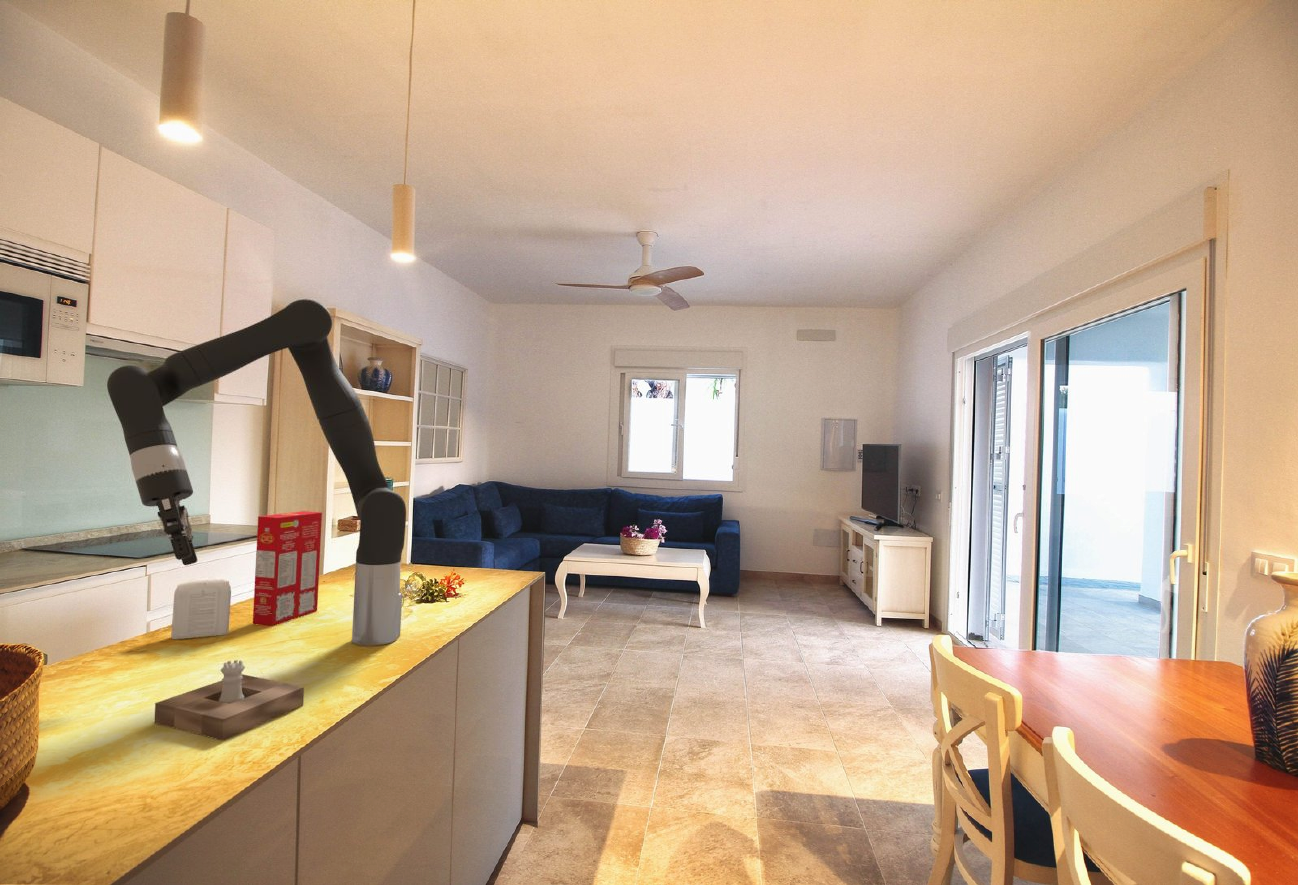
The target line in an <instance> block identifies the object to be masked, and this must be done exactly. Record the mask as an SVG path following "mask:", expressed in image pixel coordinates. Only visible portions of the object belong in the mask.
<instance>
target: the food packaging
mask: <svg viewBox="0 0 1298 885" xmlns="http://www.w3.org/2000/svg"><path fill="white" fill-rule="evenodd" d="M322 521H323V512H322V511H308V510H307V511H305V510H302V511H294V512H293V511H292V512H285V513H275V514H268V515H267V514H266V515H259V516H257V530H256V531H257V534H256V554H255V569H254V571H255V572H254V589H253V590H254V591H253V592H254V594H253V607H252V608H253V610H252V611H253V614H252V625H256V624H258V625H257V626H266V627H274V626H278V625H281V624H283V623H287V622H290V621H292V620H291V619H293V620H296V619H298V617H299V618H301V616H302V617H305V616H308V615H310V614H313V613H317V612H318V605H319V604H318V603H319V602H318V600H319V582H320V580H319V579H320V564H321V562H320V561H321V560H320V559H321V541H322V526H323V525H322ZM316 611H317V612H316ZM304 615H305V616H304ZM289 620H290V621H289ZM277 624H278V625H277Z"/></svg>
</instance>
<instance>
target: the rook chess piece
mask: <svg viewBox="0 0 1298 885" xmlns="http://www.w3.org/2000/svg"><path fill="white" fill-rule="evenodd" d="M238 660H239V659H237V660H236V659H235V660H233V663H232V661H231V660H229V661H227V662H224V663H223V666H222V668H221V669H220V672H221V674H222V675H223V678H221V681H223V689H222V693H221V697H220V698H219V702H223V703H227V704H231V703H233V702H236V701H239V700H241V699H244V695H243V694H242V687H241V679H242V678H243V676H242V675H241V674H243V673H242V672H244V670H245V669H246V666H245V665H244V664H243V662H244V661H242V660H239V661H238Z"/></svg>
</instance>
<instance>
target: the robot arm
mask: <svg viewBox="0 0 1298 885" xmlns="http://www.w3.org/2000/svg"><path fill="white" fill-rule="evenodd" d="M332 327H333V319H332V314H331V312H330V311H329V309H328V308H327V307H326V306H325V305H324V304H322V303H320V302H319V301H317V300H313V299H309V298H306V299H304V298H303V299H298V300H293V301H292V302H290V303H289V304H288V305H286V306H285V307H284V308H282V309H281V310H279V311H277V312H275V313H274V314H273V315H272V314H271V315H270V316H268V317H267V318H264V319H263V320H260V321H258V322H256V323H254V324H251V325H249V326H246V327H244V328H242V329H239V330H236V331H233V332H231V333H228V334H225V335H222V336H219V337H216V338H213V339H210V340H208V341H205V342H202V343H199V344H197V345H194V346H191V347H189V348H185V349H183V350H181V351H178V352H175V353H173V354H171V355H169V356H167V357H166V358H165V360H164V362H163V364H162V365H161V366H159V367H157V368H155V369H153V370H151V371H148V370H147V369H145V368H144V367H141V366H138V365H130V364H129V365H128V364H127V365H124V366H120V367H118V368H116V369H114V370H113V371H112V372H111V373H110V374H109V376H108V378H107V383H106V387H107V388H106V389H107V392H108V396H109V398H110V401H111V403H112V406H113V409H114V411H115V413H116V416H117V417H118V421H119V422H120V425H121V428H122V432H123V438H124V441H125V445H126V448H127V451H128V454H129V457H130V458H129V459H130V465H131V471H132V474H133V478H134V480H135V484H136V488H137V491H138V495H139V497H140V501H141V504H142V505H143V506H145V507H152V508H153V507H157V509H158V511H157V517H158V519H159V521H160V523H161V524H160V525H161V527H162V530H163V531H164V533H165V534H166V537H167V538H168V539H169V540H170V544H171V546H172V549H173V553H174V556H175V559H177V560H178V561H180V560H181V562H182V564H183V565H184V566H189V565H193V564H196V563H197V562H198V557H197V554H196V550H195V547H194V544H193V542H194V535H192V525H191V522H190V520H189V511H188V509H187V507H186V506H185V505H181V504H180V502H181V501H182V500H186V499H188V498H190V497H191V496H192V495H193V494H194V489H193V486H192V482H191V479H190V476H189V473H188V470H187V468H186V464H185V460H184V458H183V455H182V453H181V451H180V449H179V447H178V443H177V440H176V438H175V434H174V432H173V429H172V426H171V424H170V422H169V420H168V419H167V416H166V414H165V410H164V407H165V406H166V405H168V404H170V403H171V402H174V401H175V400H176V399H178V398H179V397H182V396H183V395H184V394H186V393H187V392H189V391H190V390H193V389H196V388H198V387H201V386H204V385H205V384H208V383H211V382H213V381H216V380H218V379H221V378H223V377H225V376H228V375H229V374H232V373H234V372H236V371H238V370H240V369H242V368H244V367H246V366H247V365H250V364H251V363H253V362H255V361H257V360H260V359H262V358H264V357H266V356H269V355H271V354H273V353H276V352H278V351H282V350H286V349H288V351H289V352H290V355H291V356H292V357H293V360H294V361H295V364H296V366H297V368H298V370H299V372H300V373H301V376H302V378H303V381H304V385H305V388H306V391H307V393H308V396H309V399H310V402H311V405H312V407H313V410H314V411H313V412H315V413H314V414H315V417H316V418H317V420H318V423H319V426H320V428H321V430H322V433H323V435H324V437H325V439H326V441H327V444H328V446H329V448H330V449H331V451H332V454H333V455H334V457H335V459H336V461H337V463H338V464H339V466H340V468H341V470H342V471H343V474H344V476H345V479H346V481H347V483H348V487H349V491H350V493H351V496H352V500H353V505H354V509H355V511H356V512H355V513H356V515H357V518H358V519H359V521H360V522H359V539H358V545H357V549H356V552H355V553H356V554H355V570H354V571H355V572H354V573H355V574H354V590H353V592H354V593H353V594H354V595H353V612H352V629H351V630H352V631H351V632H352V633H351V634H352V635H351V643H353V644H355V645H360V646H367V647H368V646H369V647H370V646H380V645H386V644H390V643H393V642H395V641H397V640H398V637H401V630H402V628H401V627H402V605H403V604H402V603H403V594H402V593H400V591H401V589H400V588H401V567H402V555H403V554H402V553H403V551H404V546H405V538H406V523H407V508H406V502H405V501H404V499H403V497H402V496H401V495H400V494H399V493H398V492H396V491H393V490H392V488H391V486H390V484H389V483H388V481H387V479H386V477H385V475H384V473H383V471H382V469H381V466H380V463H379V461H378V456H377V451H376V444H375V440H374V436H373V435H374V434H373V430H372V428H371V427H372V426H371V425H370V421H369V418H368V415H367V414H366V412H365V408H364V407H363V404H362V401H361V399H360V397H359V396H358V394H357V392H356V391H355V389H354V388H353V386H352V385H351V383H350V382H349V380H348V379H347V378H346V376H344V374H343V372H342V371H341V369H340V368H339V365H338V364H337V362H336V358H335V357H334V354H333V351H332V349H331V345H330V342H329V335H330V332H331V331H332Z"/></svg>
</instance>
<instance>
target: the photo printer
mask: <svg viewBox="0 0 1298 885" xmlns="http://www.w3.org/2000/svg"><path fill="white" fill-rule="evenodd" d="M231 588H232V587H231V585H230V581H229V580H225V579H223V578H213V577H208V578H207V577H204V578H203V577H201V578H195V579H189V580H185V581H183V582H180V583H177V586H176V589H175V590H174V594H173V607H172V621H171V636H170V637H171V639H172V640H182V639H191V638H194V637H195V638H205V637H213V636H215V637H217V635H218V636H226V635H227V634H229V631H230V630H229V627H230V616H231V602H232V600H231V599H232V589H231Z"/></svg>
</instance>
